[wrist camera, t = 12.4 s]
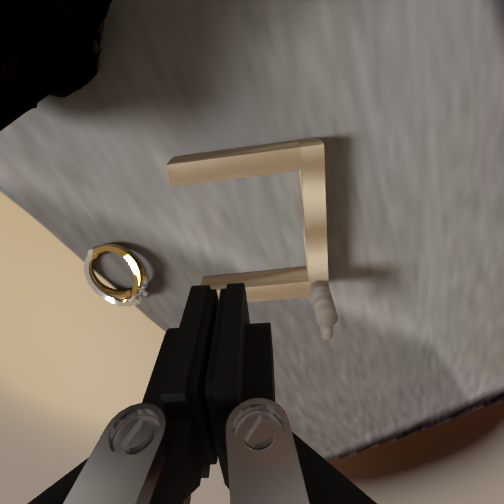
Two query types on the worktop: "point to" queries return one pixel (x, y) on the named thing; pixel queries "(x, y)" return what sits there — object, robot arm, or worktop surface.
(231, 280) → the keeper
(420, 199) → the worktop surface
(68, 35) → the pottery vessel
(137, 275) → the ring
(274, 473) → the robot arm
